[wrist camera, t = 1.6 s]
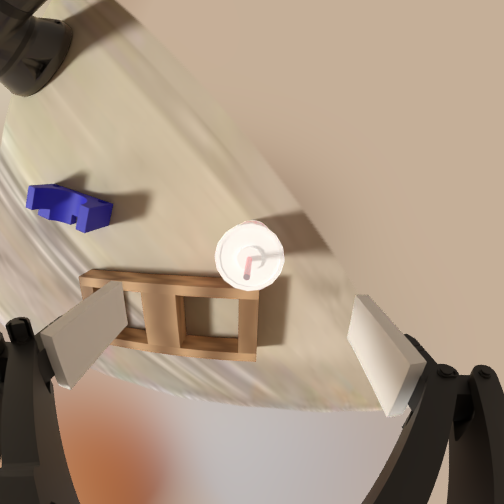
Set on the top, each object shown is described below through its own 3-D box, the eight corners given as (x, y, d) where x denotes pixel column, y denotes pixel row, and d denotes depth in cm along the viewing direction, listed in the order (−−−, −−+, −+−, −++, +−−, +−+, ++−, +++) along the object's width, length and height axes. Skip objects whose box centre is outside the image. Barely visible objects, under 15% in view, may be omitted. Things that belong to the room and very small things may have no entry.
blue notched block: (50, 212, 33) (24, 217, 27) (55, 183, 31) (28, 185, 26) (107, 235, 33) (82, 245, 27) (114, 203, 32) (89, 208, 26)
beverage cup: (216, 236, 32) (185, 272, 19) (254, 202, 31) (250, 214, 18) (250, 273, 33) (243, 331, 20) (288, 241, 32) (308, 281, 19)
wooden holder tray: (102, 329, 36) (91, 340, 33) (91, 269, 34) (78, 276, 31) (256, 346, 36) (255, 361, 33) (259, 279, 34) (259, 289, 30)
